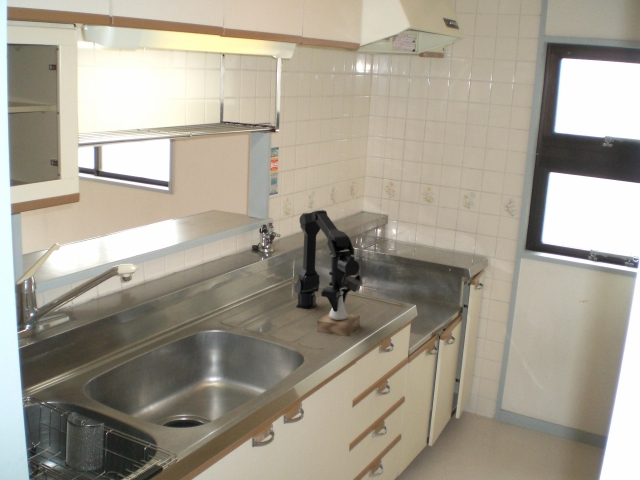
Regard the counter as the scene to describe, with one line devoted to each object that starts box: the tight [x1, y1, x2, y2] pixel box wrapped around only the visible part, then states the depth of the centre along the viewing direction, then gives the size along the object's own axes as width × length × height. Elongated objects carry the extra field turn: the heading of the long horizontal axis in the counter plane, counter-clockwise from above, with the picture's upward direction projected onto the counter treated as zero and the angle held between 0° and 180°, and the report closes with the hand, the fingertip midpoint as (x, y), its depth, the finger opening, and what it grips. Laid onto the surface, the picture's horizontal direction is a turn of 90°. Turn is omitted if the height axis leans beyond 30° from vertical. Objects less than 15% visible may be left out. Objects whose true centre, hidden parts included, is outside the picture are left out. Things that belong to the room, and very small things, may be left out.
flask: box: [329, 291, 349, 320], centre depth 258 cm, size 7×7×10 cm
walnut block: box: [316, 311, 361, 337], centre depth 259 cm, size 12×12×4 cm
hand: (338, 309), depth 258 cm, fingers closed on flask, 5 cm apart
